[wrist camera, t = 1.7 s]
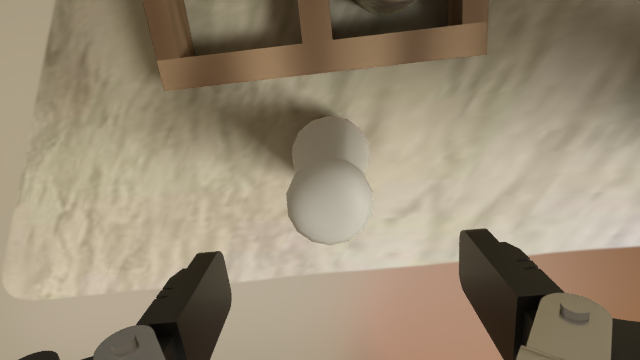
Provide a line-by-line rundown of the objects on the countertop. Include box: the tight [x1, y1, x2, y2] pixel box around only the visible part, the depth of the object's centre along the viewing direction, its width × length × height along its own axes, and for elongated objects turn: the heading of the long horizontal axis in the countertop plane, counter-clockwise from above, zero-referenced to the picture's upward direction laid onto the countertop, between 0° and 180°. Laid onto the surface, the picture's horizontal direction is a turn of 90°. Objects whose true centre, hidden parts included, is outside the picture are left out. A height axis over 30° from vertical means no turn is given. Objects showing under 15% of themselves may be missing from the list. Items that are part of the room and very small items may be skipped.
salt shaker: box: [286, 116, 373, 245], centre depth 23 cm, size 6×6×13 cm
